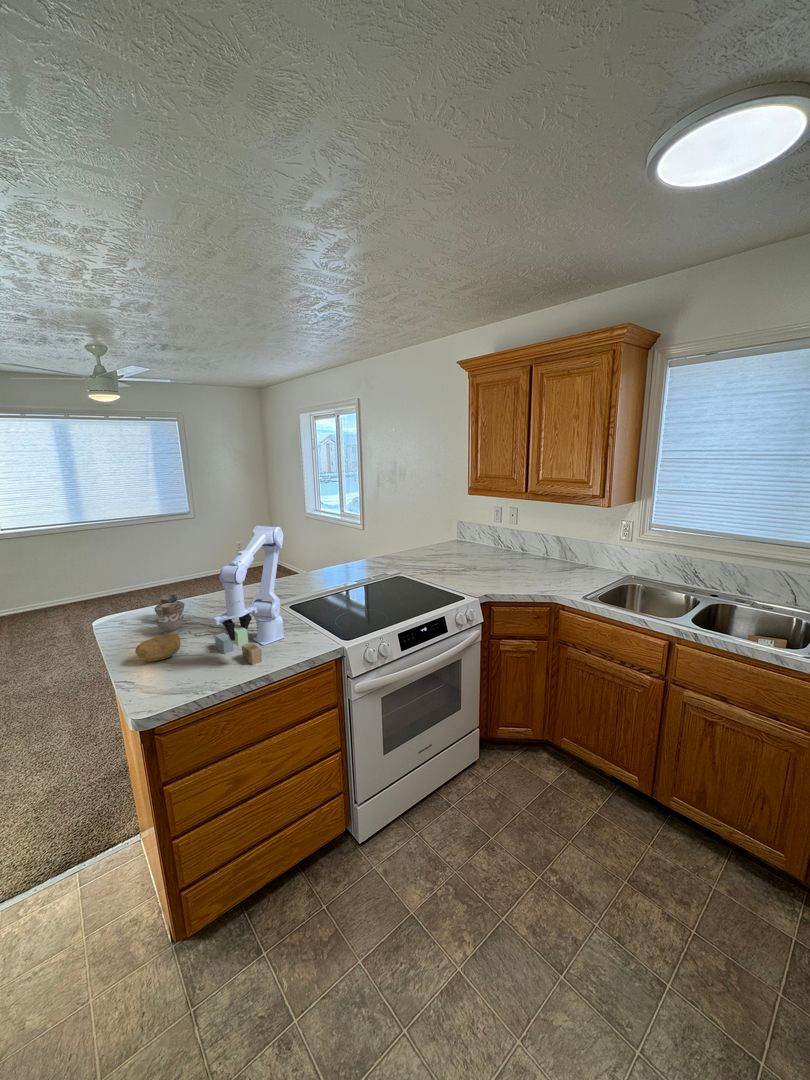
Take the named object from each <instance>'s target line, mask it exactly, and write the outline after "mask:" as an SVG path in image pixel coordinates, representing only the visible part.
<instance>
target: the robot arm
mask: <svg viewBox="0 0 810 1080" xmlns="http://www.w3.org/2000/svg"><path fill="white" fill-rule="evenodd" d="M283 532H284V531H283V530H282V528H281V526H264V525H256V526H255V527H254V528H253V530H252V531H251V539H250V540H249V541H248V543H247V545H246V546H245V548H244V549H243V550H239V551H238V552H237V553H236V555H235V556H234V558H233V559H232V560H231V561H230V563H229V564H228V565H225V566H223V567H222V568H221V569H220V571H219V581H220V582H221V583H222V588H224V595H225V596H224V598H225V608H226V612H224V613H222V614H221V615H218V616H216V617H213V623H214V625H216V626H218V625H220V624H222V625H223V627H224V628H225V630H226V631H227V635H228V634H229V637H230V639H231V640H232V641H234V640H235V634H234V627H235V622H233V620H235V619H238V621H239V625H240V626H242V627H244V628H245V629H247V630H248V628H249V625H250V623H251V621H252V619H254V620H255V623H256V625H255V626H256V636H255V637H253V638H252V639H253V640H254V641H255V642H257V643H258V644H260V645H262V646H265V645H269V644H271V643H274V642H277V641H281V640H282V639H285V638H286V636H285V635H284V633H285V632H284V620H283V617H282V615H280V613H281V604H280V603H281V599H280V597H278V595H276V594H275V586H276V577H277V570H278V569H277V568H278V564H279V563H278V561H279V554H280V550H281V549H283V548H282V547H283V543H284V533H283ZM260 548H261V549H263V550H264V558H263V566H262V574H261V579H260V580H261V581H260V588H259V589H260V590H259V592H258V593H257V594H255V595H254V596H253V598H252V602H251V604H250V606H247V607H245V598H244V586H243V585H244V583H243V582H245V581H246V580H245V579H246V575H247V573H248V569H249V568H250V566H251V565H252V563H253V562H254V559H255V557H254V555H255V554H256V553H257V552H258V551H259V550H260ZM252 617H253V618H252Z"/></svg>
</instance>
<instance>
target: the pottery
mask: <svg viewBox="0 0 810 1080" xmlns="http://www.w3.org/2000/svg"><path fill="white" fill-rule="evenodd" d="M159 599H160V600H159V601H160V603H158V604H157V605H156V606H155V607H154V608H153V609H154V611H155V613H156V615H157V618H155V623H156V626H157V627H158V628H159V630H161V631H163V635H166V634H172V633H174V634H177V635H178V634H179V633H180V631H181V630H180V628H181V627H182V625H183V623H184V618H185V617H184V614H183V612H184V609H185V602H182V601H179V600H178V598H177V594H175V593H169V594H168V593H167V594H164V595H162V596H160V597H159Z"/></svg>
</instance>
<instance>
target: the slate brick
mask: <svg viewBox="0 0 810 1080" xmlns="http://www.w3.org/2000/svg"><path fill="white" fill-rule="evenodd" d="M214 640H215V641H214V642H215V648H216V649H217V650H218V649H219V650H218V651H220V652H221V653H222V654H228V653H232V652H234V651H235V649H234V648H235V647H234V643H232V642H231V641H229V637H228V633H226V632H222V633H218V634H215V635H214Z"/></svg>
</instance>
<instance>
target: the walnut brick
mask: <svg viewBox="0 0 810 1080" xmlns="http://www.w3.org/2000/svg"><path fill="white" fill-rule="evenodd" d="M241 652H242V653H241V654H242V659H243V660H244V661H246V662H247V663H249V664H250V665H252V666H254V665H258V664H260V663H263V658H262V657H263V656H262V655H263V654H262V647H261V648H260V647H259V646H257V645H256V644H254V643H253V642H248V643H247V644H245V645H242V646H241Z"/></svg>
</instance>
